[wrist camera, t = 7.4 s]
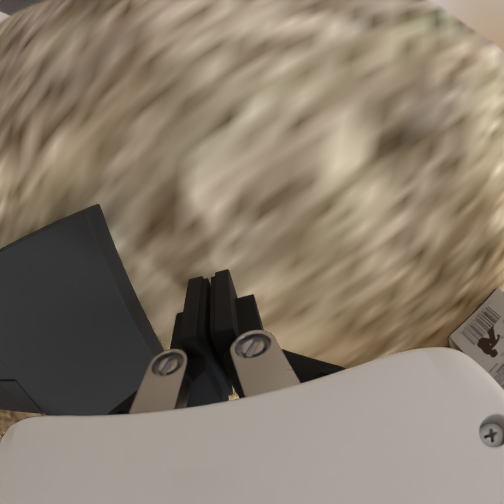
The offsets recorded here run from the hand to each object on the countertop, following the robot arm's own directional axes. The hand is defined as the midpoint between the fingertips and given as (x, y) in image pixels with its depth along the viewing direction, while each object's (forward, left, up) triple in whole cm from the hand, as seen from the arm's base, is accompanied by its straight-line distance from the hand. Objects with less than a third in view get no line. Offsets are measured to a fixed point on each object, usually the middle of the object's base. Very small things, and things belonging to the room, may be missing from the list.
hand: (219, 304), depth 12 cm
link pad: (+1, -11, -1) cm, 11 cm away
